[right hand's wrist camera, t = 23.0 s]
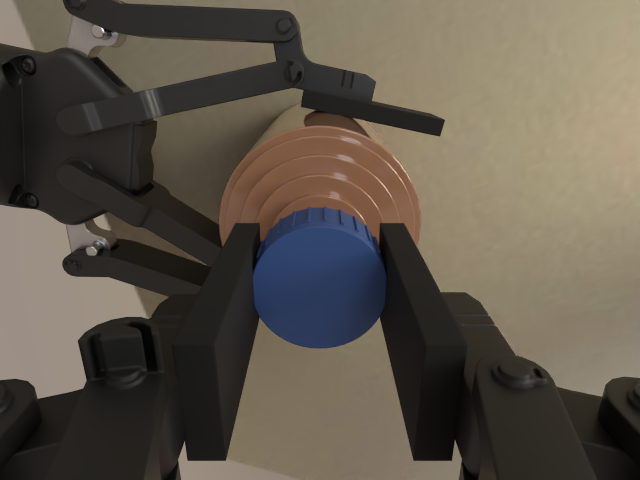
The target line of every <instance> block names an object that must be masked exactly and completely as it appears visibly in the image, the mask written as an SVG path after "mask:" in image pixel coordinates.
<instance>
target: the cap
mask: <svg viewBox="0 0 640 480" xmlns="http://www.w3.org/2000/svg"><path fill="white" fill-rule="evenodd" d="M256 258H257V262H256V265H255V269H254V272H253V287H254V303H255V308H256V310H257V313H258V314H259V316H260V318H261V319H262V321H263V322H264V323H265V324H266V326H267V327H268V328H269V329H270V330H271V331H272V332H274V333H275V334H276V335H278V336H279V337H281V338H283V339H284V340H286V341H288V342H291V343H293V344H296V345H299V346H303V347H308V348H331V347H337V346H340V345H344V344H346V343H349V342H351V341H353V340H355V339H357V338H359V337H360V336H362V335H363V334H364V333H366V332H367V331H368V330H369V329H370V328H371V327H372V326H373V325H374V324H375V322H376V321H377V320H378V318H379V317H380V315H381V313H382V311H383V309H384V307H385V295H386V277H387V274H386V271H385V265H384V262H383V259H382V256H381V251H380V248H379V245H378V241H377V238H376V237H373V235H372V234H371V232H370V231H369V228H368V226H367V225H364V224H362V223H361V222H360V221H359V220H358V219H357V218H356V216H351V215H349V214H347V213H345V212H343V211H342V210H341V209H340V210H336V209H331V208H327V206H324V208H322V207H319V208H311V207H308V209H303V210H300V211H297V212H296V211H293V213H292V214H290V215H288V216H287V217H285V218H283V219H282V218H280V219H279V222H278V223H277V224H276V225H275V226H274V227H273V228H272V229H271V228H270V229H269V230H268V234H267V236H266V238H265V240H262V241H261V244H260V247H259V250H258V253H257V256H256Z"/></svg>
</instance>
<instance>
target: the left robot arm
mask: <svg viewBox="0 0 640 480" xmlns="http://www.w3.org/2000/svg"><path fill="white" fill-rule="evenodd" d="M63 3H64V5H65V8H66V9H67V10H68V12H69V13H70V14H72V15H73V16H72V21H71V27H70V32H69V37H68V42H67V48H60V49H57V50H54V51H52V52H48V53H44V52H38V51H34V50H29V49H24V48H19V47H15V46H10V45H5V44H1V43H0V205H5V206H11V207H19V208H29V209H37V210H40V211H43V212H45V213H47V214H49V215H50V216H52V217H53V218H55V219H56V220H57V221H59V222H61V223H64V224H66V228H67V233H68V238H69V243H70V248H71V254H69V255H68V256H67V257H65V258H64V260H63V264H62V265H63V268H64V270H65V271H66V272H67V273H68V274H70V275H71V276H77V277H110V278H113V279H116V280H119V281H122V282H125V283H129V284H132V285H135V286H138V287H141V288H144V289H147V290H150V291H153V292H156V293H159V294H162V295H165V296H168V297H171V296H172V295H173V294H198V293H199V291H200V289H201V287H202V285H203V283H204V281H205V280H206V278H207V276H208V274H209V272H210V270H211V268H212V266H213V264H214V262H215V261H216V259H217V257H218V255H219V253H220V251H221V249H222V247H223V246H222V242H221V238H220V232H219V225H218V224H216V223H215V222H213V221H212V220H210V219H208V218H207V217H205V216H204V215H202V214H200V213H199V212H197V211H195V210H194V209H192V208H191V207H189V206H187V205H186V204H184V203H183V202H181V201H179V200H178V199H176V198H174V197H173V196H172V195H170V193H169V191H168V190H167V189H166V188H165V187H163V186H162V185H160V184H159V183H157V182H155V181H154V180H153V170H154V165H153V160H152V155H151V148H152V146H153V143H154V140H155V137H156V129H157V121H153V118H156V117H160V116H164V115H169V114H174V113H178V112H183V111H187V110H192V109H197V108H201V107H206V106H211V105H215V104H220V103H224V102H229V101H234V100H238V99H243V98H248V97H252V96H257V95H261V94H266V93H271V92H275V91H280V90H284V89H289V88H297V89H302V90H304V92H303V97H302V102H301V107H303V108H308V109H312V110H317V111H322V112H327V113H331V114H336V115H341V116H346V117H350V118H355V119H360V120H364V121H369V122H374V123H379V124H383V125H388V126H393V127H398V128H402V129H407V130H412V131H416V132H421V133H426V134H431V135H435V136H440V135H441V131H442V128H443V125H444V121H445V120H444V119H441V118H439V117H437V116H435V115H433V114H429V113H425V112H420V111H415V110H411V109H406V108H401V107H397V106H392V105H387V104H383V103H378V102H374V101H372V96H373V92H374V88H375V84H376V81H374V80H373V79H371V78H370V77H369V76H367V75H365V74H360V73H356V72H351V71H347V70H342V69H338V68H333V67H328V66H324V65H319V64H315V63H313V62H311V61H309V60H308V59H307V57H306V56H305V54H304V52H303V47H302V41H301V34H300V27H299V24H298V22H297V20H296V18H295V17H294V15H293V14H291V13H290V12H288V11H284V10H262V9H238V8H215V7H192V6H168V5H145V4H126V3H124V2H122V1H119V0H63ZM127 35H133V36H139V37H147V38H160V39H184V40H208V41H232V42H256V43H273V44H274V50H275V56H276V61H277V62H272V63H268V64H263V65H259V66H254V67H249V68H245V69H240V70H236V71H231V72H227V73H222V74H218V75H213V76H209V77H204V78H200V79H195V80H191V81H186V82H182V83H177V84H173V85H168V86H164V87H159V88H154V89H150V90H144V91H140V92H135V93H134V92H133V91H132V90H131V89H130V88H129V87H128V86H127V85H126V84H125V83H124V82H123V81H122V80H121V79H120V78H119V77H118V76H117V75H116V74H115V73H114V72H113V71H112V70H111V69H110V68H109V67H108V66H107V65H106V64H105V63H104V62H103V61H102V60H101V59H99V58H98V57H97V56H98V53H99V51H100V50H101V49H102V48H104V47H120V46H122V45H123V44H124V43H125V41H126V38H127ZM106 212H110V213H112V214H113V215H115V216H117V217H118V218H120V219H122V220H123V221H125V222H127V223H128V224H130V225H132V226H135V227H144V228H146V229H148V230H150V231H151V232H153V233H155V234H157V235H158V236H160V237H162V238H163V239H165V240H167V241H168V242H170V243H172V244H173V245H175V246H177V247H178V248H180V249H182V250H183V251H185V252H187V253H188V254H190V255H192V256H193V257H195V258H197V259H199V260H200V261H202V262H204V263H205V264H207V265H209V266H210V267H209V266H207V265H204V264H201V263H198V262H195V261H192V260H189V259H186V258H183V257H180V256H177V255H174V254H171V253H168V252H165V251H162V250H159V249H156V248H153V247H150V246H147V245H144V244H141V243H138V242H135V241H131V240H125V239H116V233H115V232H113V231H108V230H104V229H101V228H99V227H98V226H97V225H96V224H95V222H94V220H93V219H94V218H96V217H98V216H100V215H102V214H104V213H106Z"/></svg>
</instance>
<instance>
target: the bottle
mask: <svg viewBox="0 0 640 480" xmlns="http://www.w3.org/2000/svg"><path fill="white" fill-rule="evenodd" d="M324 206H327V208H331V209H336V210H340V209H341V210H342V211H343V212H345V213H347V214H349V215H351V216H356V218H357V219H358V220H359V221H360V222H361V223H362V224H364V225H367V226H368V228H369V231H370V232H371V234H372V235H373V237H376V238H377V241H378V245H379V229H380V223H404V224H405V226H406V227H407V229H408V231H409V233H410V235H411V237H412V239H413V241H414V243H415V245H416V246H417V245H418V241H419V236H420V227H421V215H420V207H419V201H418V197H417V194H416V191H415V188H414V186H413V183H412V181H411V179H410V177H409V175H408V174H407V172H406V171H405V169H404V168H403V166H402V165H401V164H400V162H399V161H398V160H397V159H396V157H395V156H394V155H393V154H392V152H391V151H390V150H389V149H388V147H387V146H386V145H385V144H384V143H383V141H382V140H381V139H380V138H379V136H378V135H377V134H376V133H375V131H374V130H373V129H372V128H371V126H370V125H369V124H368V123H367V122H366V121H364V120H360V119H355V118H350V117H346V116H341V115H336V114H331V113H327V112H322V111H317V110H312V109H308V108H303V107H301V103H299V104H296V105H294V106H292V107H290V108H289V109H287V110H285V111H284V112H283V113H282V114H280V115H279V116H278V117H277V118H276V119H275V120H274V121H273V123H272V124H271V125H270V126H269V127H268V129H267V130H266V131H265V132H264V134H263V135H262V136H261V137H260V139H259V140H258V141H257V142H256V143H255V145H254V146H253V147H252V148H251V150H250V151H249V152H248V153H247V155H246V156H245V157H244V158H243V159H242V161H241V162H240V163H239V165H238V166H237V167H236V169H235V170H234V171H233V173H232V175H231V177H230V179H229V180H228V182H227V185H226V187H225V190H224V193H223V195H222V200H221V204H220V211H219V232H220V238H221V242H222V246H223V245H224V243H225V242H226V240H227V238H228V236H229V234H230V232H231V230H232V228H233V226H234V225H235V223H260V240H261V241H262V240H265V238H266V236H267V234H268V230H269V229H270V228H271V229H272V228H273V227H274V226H275V225H276V224H277V223H278V222H279V219H280V218H282V219H283V218H285V217H287V216H288V215H290V214H292V213H293V211H296V212H297V211H300V210H303V209H308V207H311V208H319V207H322V208H324Z"/></svg>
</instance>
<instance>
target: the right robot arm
mask: <svg viewBox="0 0 640 480" xmlns="http://www.w3.org/2000/svg"><path fill="white" fill-rule="evenodd" d="M260 244H261V240H260V223H235V225H234V226H233V228H232V230H231V232H230V234H229V236H228V238H227V240H226V242H225V243H224V245H223V247H222V249H221V251H220V253H219V255H218V257H217V259H216V261H215V262H214V264H213V266H212V268H211V270H210V272H209V274H208V276H207V278H206V280H205V281H204V283H203V285H202V287H201V289H200V291H199V293H198V294H173V295H172V296H171V297H169V298H168V299H166V300H165V301H163V302H162V303H160V304H159V305H158V307H157V308H156V310H155V311H154V313H153V314H152V318H150V319H146V318H142V317H124V318H119V319H114V320H110V321H107V322H104V323H101V324H99V325H96V326H95V327H93V328H92V329H90V330H88V331H87V332H85V333H84V334H83V335H82V337H81V338H80V339H79V340H78V344H79V348H80V352H81V357H82V361H83V366H84V370H85V375H86V379H87V381H86V384H85V386H84V388H83V389H80V390H77V391H73V392H69V393H65V394H60V395H55V396H50V397H45V398H40V399H37V395H36V391H35V388H34V386H33V385H31V384H30V383H29V382H28V381H24V380H18V379H9V380H0V480H181V477H180V470H179V463H178V458H179V455H180V452H181V450H182V447H183V444H184V441H185V445H186V452H187V459H188V461H226V458H227V453H228V449H229V445H230V441H231V436H232V432H233V428H234V424H235V419H236V415H237V411H238V407H239V402H240V398H241V394H242V390H243V385H244V381H245V377H246V373H247V369H248V364H249V360H250V356H251V352H252V347H253V343H254V339H255V335H256V330H257V326H258V322H259V318H260V316H259V314H258V313H257V310H256V308H255V303H254V287H253V272H254V269H255V265H256V262H257V258H256V256H257V253H258V250H259V247H260ZM379 248H380V251H381V256H382V259H383V262H384V265H385V271H386V274H387V277H386V295H385V307H384V309H383V311H382V313H381V315H380V320H381V324H382V328H383V333H384V337H385V341H386V345H387V350H388V354H389V358H390V362H391V367H392V371H393V375H394V379H395V384H396V388H397V392H398V396H399V401H400V405H401V409H402V413H403V417H404V422H405V426H406V430H407V434H408V439H409V443H410V447H411V451H412V456H413V460H414V461H452V456H453V448H454V441H456V443H457V446H458V449H459V452H460V455H461V457H462V463H461V470H460V476H459V480H640V378H632V377H621V378H616V379H612V380H611V381H610V382H608V383H607V384H606V385H605V389H604V393H603V396H602V397H600V396H595V395H590V394H585V393H580V392H575V391H571V390H567V389H563V388H559V387H556V385H555V383H554V381H553V379H552V378H551V376H550V375H549V374H548V372H547V371H546V370H544V369H543V368H542V367H540V366H539V365H537V364H536V363H534V362H532V361H530V360H527V359H525V358H522V357H519V356H516V355H515V354H514V352H513V351H512V349H511V348H510V346H509V345H508V343H507V342H506V340H505V339H504V337H503V336H502V334H501V333H500V331H499V330H498V328H497V327H496V326H495V324H494V322H493V321H492V319H491V318H490V316H488V313H487V312H486V310H485V309H484V307H483V306H482V304H481V303H480V302H479V301H477V300H476V299H474V298H473V297H471V296H470V295H468V294H467V293H465V292H440V290H439V288H438V286H437V284H436V283H435V281H434V279H433V277H432V275H431V273H430V271H429V269H428V267H427V265H426V264H425V262H424V260H423V258H422V256H421V254H420V252H419V250H418V248H417V246H416V245H415V243H414V241H413V239H412V237H411V235H410V233H409V231H408V229H407V227H406V226H405V224H404V223H380V229H379Z"/></svg>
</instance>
